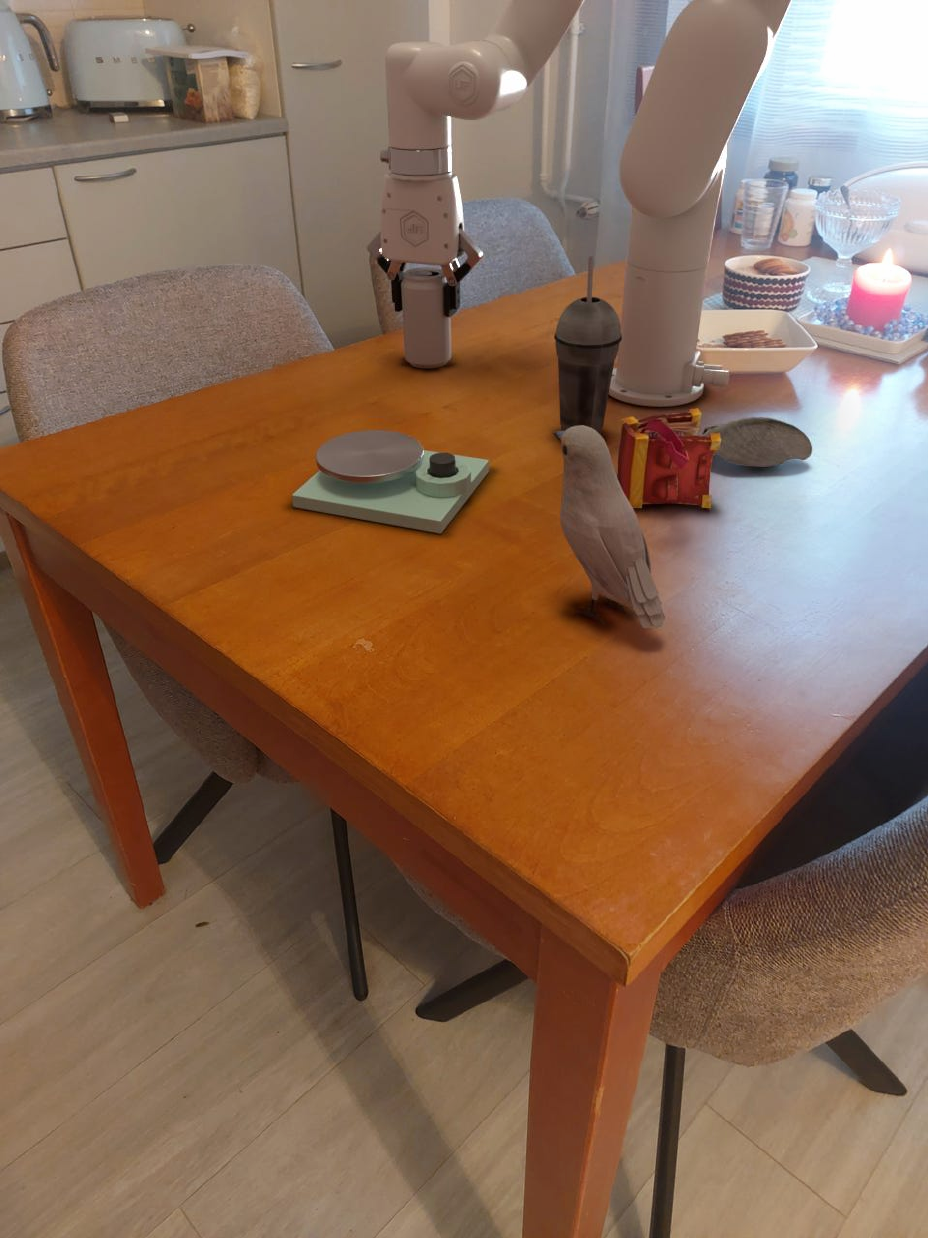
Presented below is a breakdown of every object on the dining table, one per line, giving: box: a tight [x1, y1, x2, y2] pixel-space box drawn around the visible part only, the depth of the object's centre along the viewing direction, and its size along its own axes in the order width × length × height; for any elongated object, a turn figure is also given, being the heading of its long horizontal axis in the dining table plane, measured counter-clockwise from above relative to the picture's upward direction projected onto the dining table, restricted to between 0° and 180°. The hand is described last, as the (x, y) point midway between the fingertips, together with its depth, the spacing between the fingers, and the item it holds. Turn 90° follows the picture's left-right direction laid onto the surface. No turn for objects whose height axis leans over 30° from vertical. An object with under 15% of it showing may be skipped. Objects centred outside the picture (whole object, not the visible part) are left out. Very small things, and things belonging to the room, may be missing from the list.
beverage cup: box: [553, 255, 622, 436], centre depth 97 cm, size 7×7×20 cm
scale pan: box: [315, 429, 425, 483], centre depth 91 cm, size 11×11×1 cm
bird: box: [552, 425, 666, 629], centre depth 70 cm, size 5×14×15 cm, turn 36°
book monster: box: [616, 408, 721, 509], centre depth 86 cm, size 11×9×12 cm
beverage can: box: [401, 266, 452, 369], centre depth 120 cm, size 6×6×12 cm
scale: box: [291, 449, 490, 535], centre depth 92 cm, size 16×14×3 cm
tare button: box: [429, 452, 456, 478], centre depth 89 cm, size 3×3×2 cm
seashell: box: [700, 416, 813, 468], centre depth 96 cm, size 12×8×5 cm
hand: (426, 310), depth 119 cm, fingers closed on beverage can, 6 cm apart
